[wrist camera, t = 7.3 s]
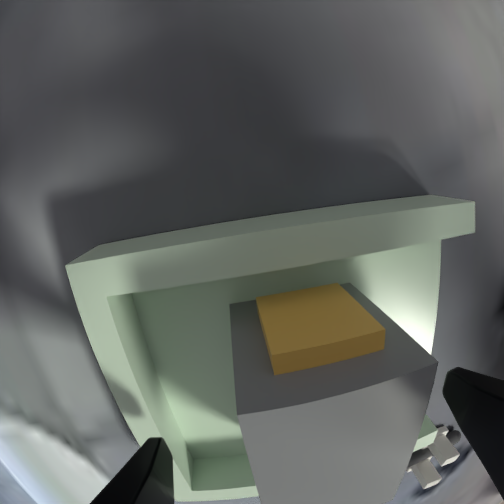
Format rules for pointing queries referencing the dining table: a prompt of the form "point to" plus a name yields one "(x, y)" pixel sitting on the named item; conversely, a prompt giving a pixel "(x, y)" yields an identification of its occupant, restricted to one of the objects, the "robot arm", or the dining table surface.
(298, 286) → the holder
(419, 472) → the clip
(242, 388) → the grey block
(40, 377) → the dining table surface
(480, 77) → the dining table surface
